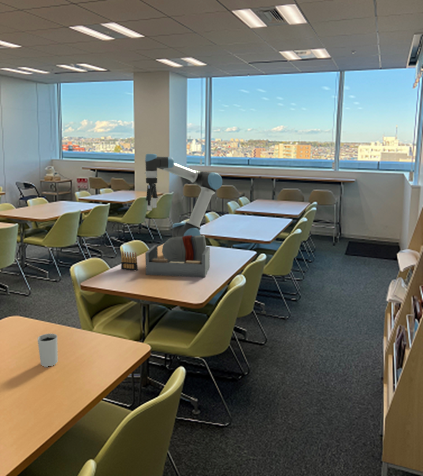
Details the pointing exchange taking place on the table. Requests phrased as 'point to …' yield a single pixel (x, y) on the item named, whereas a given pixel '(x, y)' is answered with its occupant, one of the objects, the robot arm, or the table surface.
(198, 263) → the teak offcut
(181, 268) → the rack
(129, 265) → the ammunition clip
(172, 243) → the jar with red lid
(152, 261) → the walnut offcut
